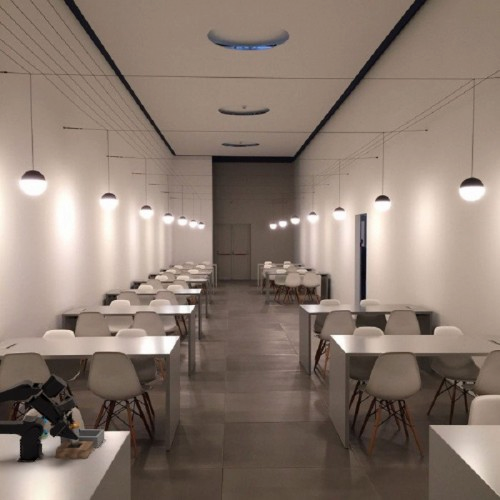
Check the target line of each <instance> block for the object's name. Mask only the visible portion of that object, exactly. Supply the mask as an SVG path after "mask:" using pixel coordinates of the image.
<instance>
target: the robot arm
mask: <svg viewBox="0 0 500 500" xmlns="http://www.w3.org/2000/svg"><path fill="white" fill-rule="evenodd" d="M67 387H68V384H67V382H66V380H64V379H63V377H60V376H58V375H55V374H54V373H52V374H50V376H49V377H48V378H47V379H46V380H45V382H33V381H32V380H30V379H23V380H22V381H20V382H17V383H15V384H13V385H10V386H9V387H6V388H4V389H0V403H4V402H17V401H18V402H19V401H23V402H24V410H25V411H27V410H28V409H29V407H31V408H33V410H34V411H36V412H37V413H39V414H40V415H41V416H42V417H41V416H38V414H36V415H25V417H23V419H21V420H0V435H17V436H19V437H20V439H19V458H18V459H17V462H36V461H38V460H39V459H40V458H41V457H42V456H43V455H44V453H43V443H41V442H42V441H41V437H43V436H42V434H44V429H45V430H46V424H47V422H49V423H50V424H49V425H50V429H49V435H50V436H51V437H52V438H56V437H58V438H59V437H64V438H69V439H73V440H77V439H78V438H79V437H78V436H77V435H76V434H75V432H74V431H73V430H72V429H71V428H70V423H73V422H76V421H75V419H74V417H73V416H74V415H73V413H74V411H73V409H74V408H76V407H77V405H78V402H77V401H76V397H75V396H74V395H71V394H66V395H65V396H64V399H63V400H62V401H61V402H58V401H53V400H52V399H56V398H57V397H58V396H59V395H60V393H62V392H63V391H64V390H65V388H67ZM69 412H70V413H69ZM44 418H45V419H46V420H47V422H46V423H45V421H44ZM80 429H81V428H79V432H80V431H81V430H80Z"/></svg>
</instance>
